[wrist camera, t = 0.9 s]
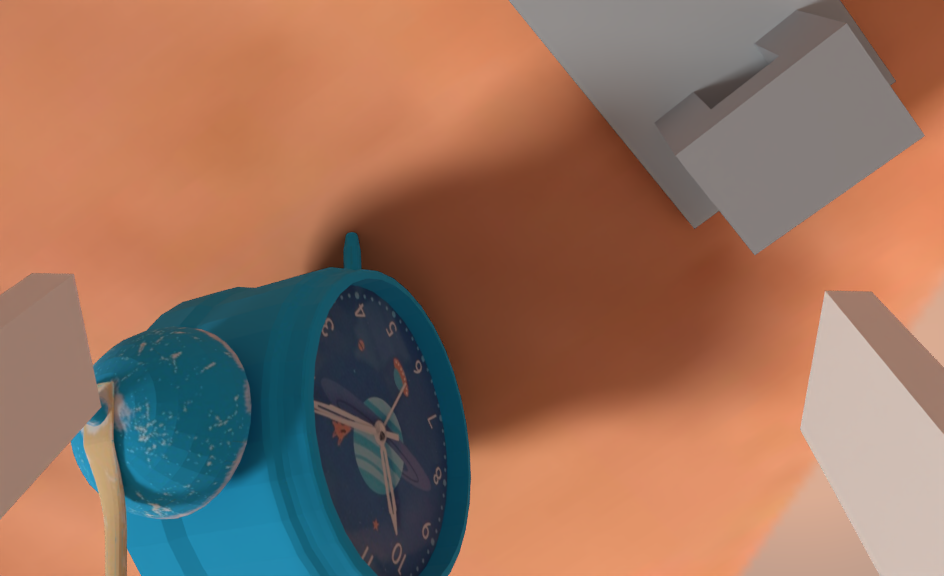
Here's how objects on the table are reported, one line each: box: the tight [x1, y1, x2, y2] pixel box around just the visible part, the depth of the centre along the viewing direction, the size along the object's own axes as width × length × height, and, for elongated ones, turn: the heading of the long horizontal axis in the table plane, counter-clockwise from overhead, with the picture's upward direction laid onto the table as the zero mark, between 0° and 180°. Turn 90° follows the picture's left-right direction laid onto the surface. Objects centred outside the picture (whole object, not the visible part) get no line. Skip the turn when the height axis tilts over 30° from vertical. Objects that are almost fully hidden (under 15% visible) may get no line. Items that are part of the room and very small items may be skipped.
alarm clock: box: [71, 232, 471, 576], centre depth 33 cm, size 17×10×20 cm, turn 21°
